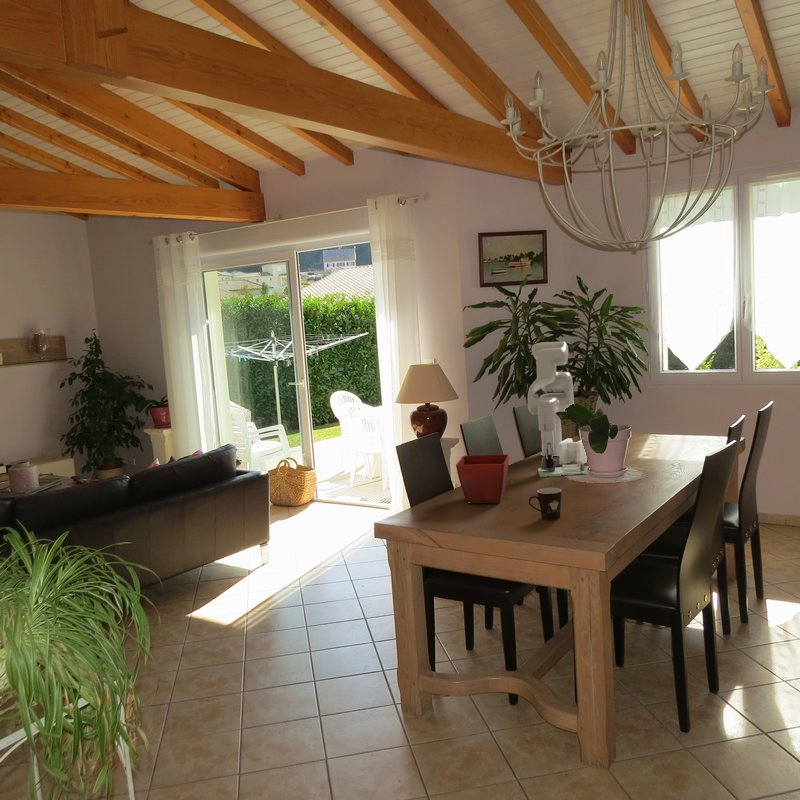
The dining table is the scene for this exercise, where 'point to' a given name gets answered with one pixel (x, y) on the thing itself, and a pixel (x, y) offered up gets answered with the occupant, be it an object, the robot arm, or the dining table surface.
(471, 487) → the plant pot
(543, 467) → the plug
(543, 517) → the coffee mug
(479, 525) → the dining table surface
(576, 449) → the cable organizer
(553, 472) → the board
